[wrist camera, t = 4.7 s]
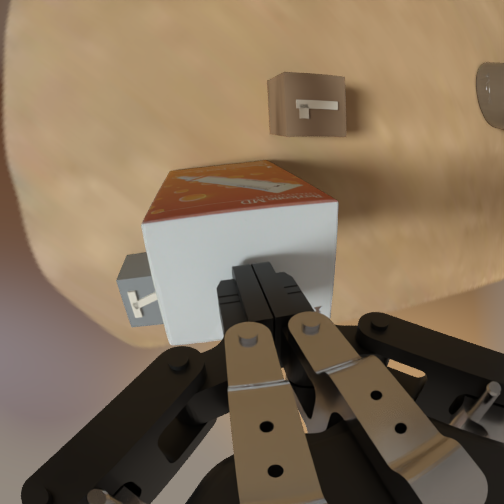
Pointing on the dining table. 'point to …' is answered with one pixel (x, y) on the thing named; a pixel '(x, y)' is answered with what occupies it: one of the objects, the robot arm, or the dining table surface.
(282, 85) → the walnut block one
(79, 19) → the dining table surface
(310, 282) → the small box
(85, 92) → the dining table surface
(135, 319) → the slate block seven
